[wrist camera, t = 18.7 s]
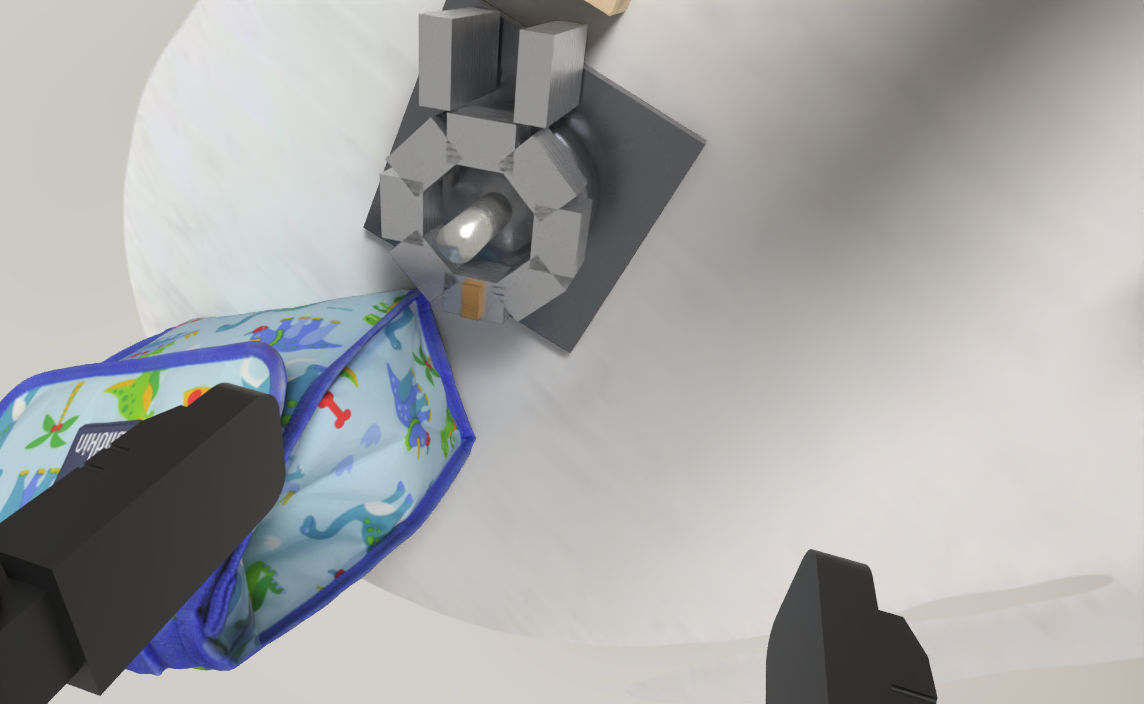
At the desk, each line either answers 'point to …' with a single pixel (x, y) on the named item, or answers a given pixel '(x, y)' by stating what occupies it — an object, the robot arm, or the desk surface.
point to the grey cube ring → (490, 162)
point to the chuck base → (615, 183)
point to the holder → (610, 6)
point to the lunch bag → (310, 440)
